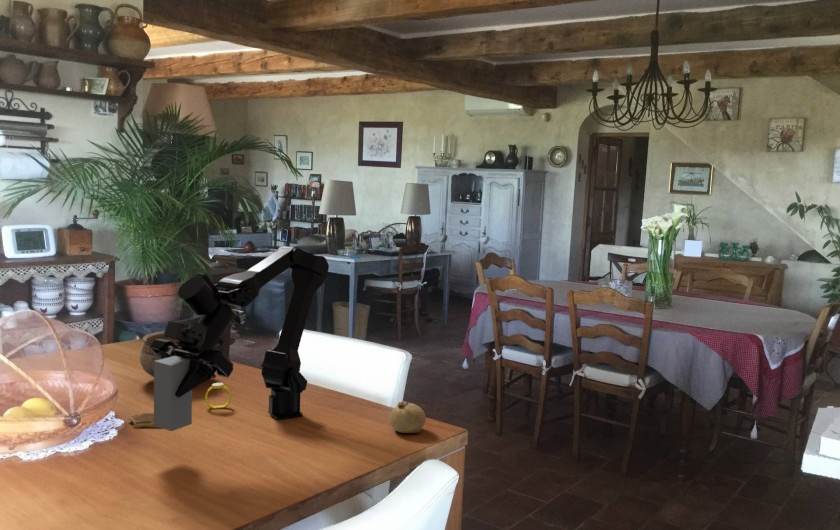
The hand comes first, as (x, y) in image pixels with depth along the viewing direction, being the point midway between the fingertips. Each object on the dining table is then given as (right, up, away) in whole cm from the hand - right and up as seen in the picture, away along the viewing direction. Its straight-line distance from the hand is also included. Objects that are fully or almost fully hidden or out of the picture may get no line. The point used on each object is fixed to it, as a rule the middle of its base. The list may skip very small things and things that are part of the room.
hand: (167, 393), depth 137 cm
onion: (+46, -13, +23) cm, 53 cm away
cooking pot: (-17, -7, +55) cm, 58 cm away
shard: (-11, -11, +23) cm, 28 cm away
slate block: (0, -6, +2) cm, 7 cm away
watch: (0, -10, +34) cm, 35 cm away
